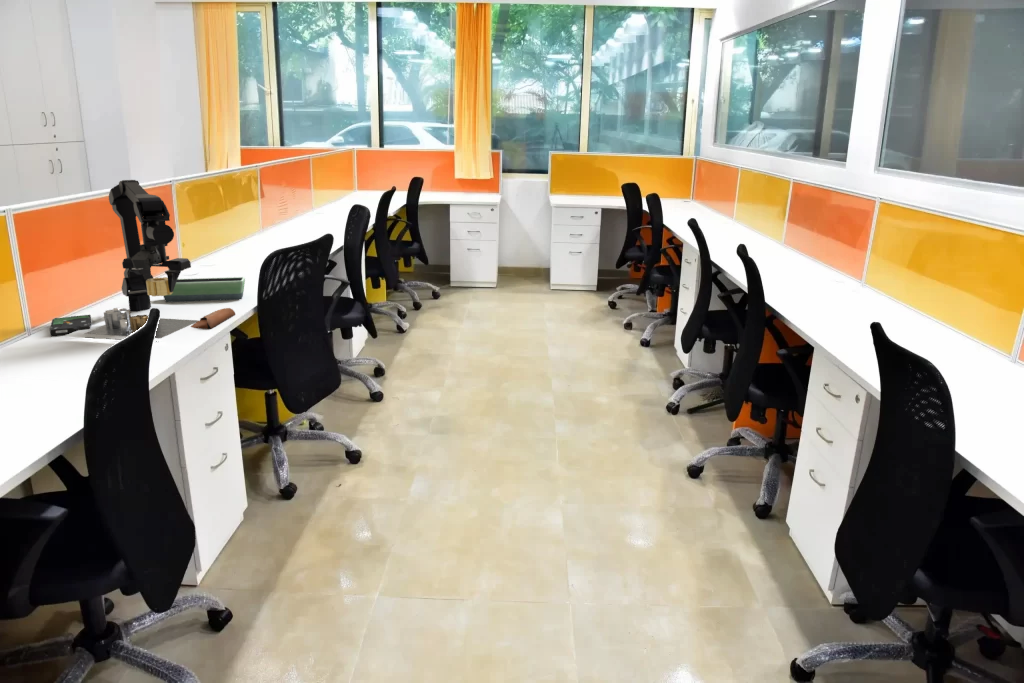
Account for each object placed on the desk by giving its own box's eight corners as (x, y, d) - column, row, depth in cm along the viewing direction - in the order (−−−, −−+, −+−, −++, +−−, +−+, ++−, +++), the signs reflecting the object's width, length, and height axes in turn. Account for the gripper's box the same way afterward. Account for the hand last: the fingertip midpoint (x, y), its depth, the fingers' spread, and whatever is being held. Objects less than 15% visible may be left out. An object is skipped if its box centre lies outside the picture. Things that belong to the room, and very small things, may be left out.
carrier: (129, 320, 228) (127, 300, 226) (200, 324, 225) (198, 304, 223) (84, 337, 209) (81, 316, 207) (161, 342, 206) (158, 320, 204)
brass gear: (156, 290, 222) (154, 276, 221) (177, 291, 221) (176, 277, 220) (142, 295, 215) (140, 281, 214) (164, 296, 214) (162, 282, 213)
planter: (246, 296, 263) (245, 276, 261) (244, 300, 257) (242, 280, 255) (165, 299, 257) (162, 279, 255) (160, 303, 251) (158, 283, 249)
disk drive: (91, 334, 214) (91, 322, 227) (90, 325, 214) (90, 313, 226) (51, 339, 210) (53, 326, 222) (49, 329, 209) (51, 317, 221)
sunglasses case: (210, 317, 233) (218, 300, 231) (229, 328, 234) (238, 311, 232) (183, 332, 216) (192, 314, 214) (204, 344, 217) (214, 326, 215)
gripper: (106, 243, 207) (114, 296, 212) (167, 245, 205) (173, 299, 209) (131, 237, 218) (137, 288, 222) (188, 239, 215) (194, 290, 220)
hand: (160, 291), depth 218 cm, fingers closed on brass gear, 7 cm apart
